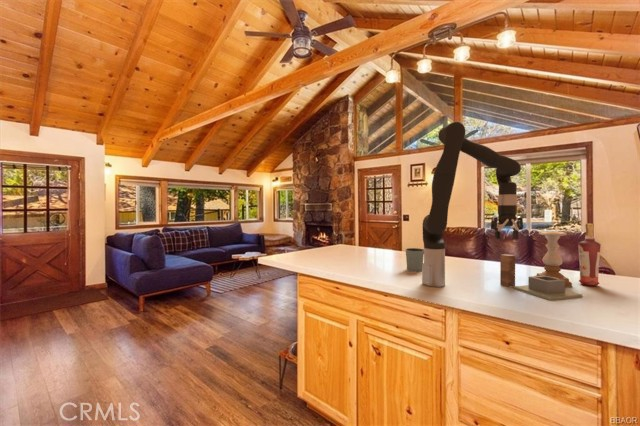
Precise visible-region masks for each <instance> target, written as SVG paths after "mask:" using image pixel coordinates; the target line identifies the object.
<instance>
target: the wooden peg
mask: <svg viewBox="0 0 640 426" xmlns="http://www.w3.org/2000/svg"><path fill="white" fill-rule="evenodd" d="M499 261H500V263H499V264H500V265H499V266H500V270H499V271H500V275H499V276H500V278H499V279H500V281H499V283H500V284H501V286H503V285H504V287H508V288H510V287H509V286H512V287H514V286H516V255H514V254H510V253H508V254H507V253H504V254H500V260H499ZM500 284H499V285H500Z"/></svg>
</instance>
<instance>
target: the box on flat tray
mask: <svg viewBox="0 0 640 426" xmlns="http://www.w3.org/2000/svg"><path fill="white" fill-rule="evenodd" d="M513 289H514V290H516V289H517V291H519V290H520V292H522V291H523V292H522V293H525V292H526V294H528V293H529V295H532V296H535V297H539V298H542V299H544V300H548V301H557V300H567V299H568V300H569V299H577V298H583V294H581V293H579V292H575V291H571V290H567V289H566V287H565V280H562V279H559V278H555V277H549V276H545V275H543V276H536V275H534V276H533V275H532V276H528V284H527V285H515V286H513Z"/></svg>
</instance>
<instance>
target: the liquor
mask: <svg viewBox="0 0 640 426" xmlns="http://www.w3.org/2000/svg"><path fill="white" fill-rule="evenodd" d="M584 226H585V235H584V236H585V237H584V240H581V241H579V242H578V260H579V280H578V282H579V283H580V284H581V285H582V286H585V287H597V286H598V285H600V282H599V271H600V270H599V269H600V259H601V245H602V244H600V243H599V242H597V241H595V239H594V223H585V225H584Z"/></svg>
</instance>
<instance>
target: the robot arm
mask: <svg viewBox="0 0 640 426" xmlns="http://www.w3.org/2000/svg"><path fill="white" fill-rule="evenodd" d="M437 137H438V139H439V142H440V143H441V144H443V151H442V154H441V156H440V158H439V160H438V162H437V163H436V167H435V168H434V172H433V176H432V180H431V181H432V182H431V198H432V199H431V206H430V211H429V213H428V215H426V216H424V218H423V221H422V241H423V250H424V255H423V264H422V271H421V272H422V273H421V274H422V276H421V282H422V284H424V285H426V286H427V287H432V288H433V287H434V288H437V287H438V288H442V287H444V286H446V243H445V240H444V239H445V238H444V232H445V231H446V228H447V225H448V214H449V207H450V201H451V198H452V193H453V188H454V186H455V185H454V184H455V178H456V174H457V168H458V163H459V157H460V154H461V153H464V154H466V155H468V156H469V157H472V158H473V159H474V160H476V161H478V162H479V163H481V164H483V165H484V166H486V167H488V168H491V169H495V177H496V181H497V185H498V196H497V197H498V198H497V216H492V217H491V219H490V221H491V222H490V230H493V231H494V239H496V240H501V233H502V232H501V230H502V229H504V227H510V228H511V229H512V239H513V240H518V239H519V231H522V230H523V229H524V224H523V223H524V219H523V217H522V216H516V215H517V213H518V197H517V192H518V189H517V187H518V186H517V183H516V182H515V181H512V177H515V176H517V175H519V174H520V173H521V171H522V166H521V165H520V163H519V162H518V161H517V160H515V159H514V158H510V157H508V156H506V155H504V154H503V155H502V154H500V153H498V152H497V151H495V150H493V149H492V148H491V147H489V146H486V145H483V144H481V143H478V142H474V141H472V140H471V139H467V138H466V127H465V125H464V124H463V123H462V122H461V121H453V122H450V123H448V124H446V125H445V126H443V127H442V128H440V130H439V131H438V135H437ZM460 152H461V153H460Z"/></svg>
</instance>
